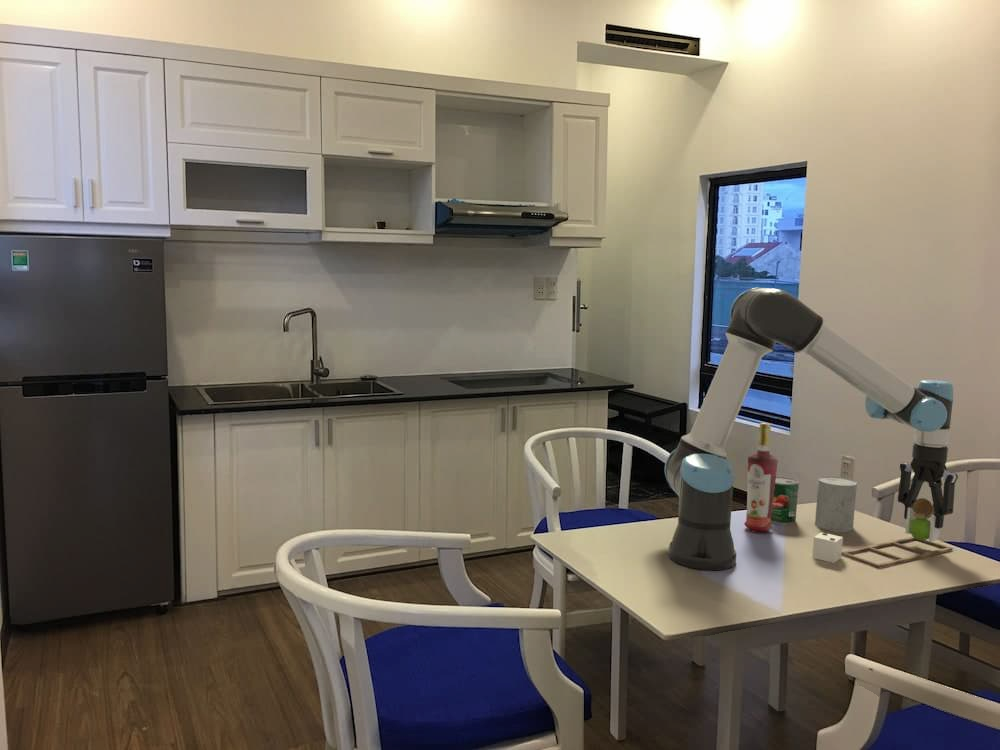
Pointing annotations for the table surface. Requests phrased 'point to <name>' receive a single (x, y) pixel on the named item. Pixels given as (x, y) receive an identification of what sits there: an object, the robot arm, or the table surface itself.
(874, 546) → the wooden ladder frame
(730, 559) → the robot arm
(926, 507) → the snail figurine
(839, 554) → the die
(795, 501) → the canned tomato
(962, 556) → the table surface
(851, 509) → the grey cylinder
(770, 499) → the liquor
